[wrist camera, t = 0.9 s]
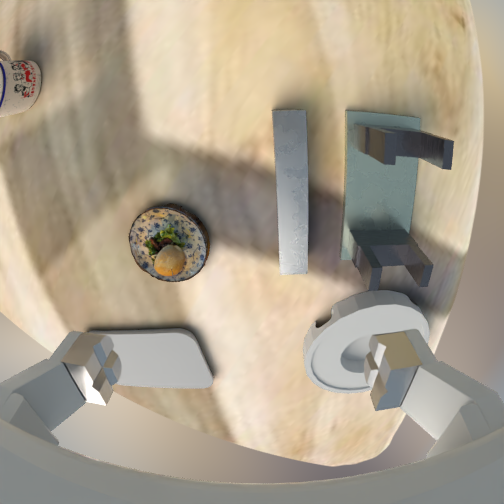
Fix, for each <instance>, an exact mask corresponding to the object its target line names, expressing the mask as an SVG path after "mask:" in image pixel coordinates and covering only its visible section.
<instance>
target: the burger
mask: <svg viewBox="0 0 504 504" xmlns="http://www.w3.org/2000/svg"><path fill="white" fill-rule="evenodd" d="M181 207H182V206H178V205H176V204H175V205H174V204H167V205H164V206H158V207H152V208H149V209H147V210H146V211H145V212H143V213H142V214H140V215H139V216H138V217H137V218H136V219H135V221H134V222H133V224H132V227H131V230H130V233H129V242H130V247H131V252H132V255H133V257H134V259H135V262H136V263H137V265H138V266H139V267H140V268H141V269H142V270H143V271H145V272H147V273H149V274H150V275H151V276H152V277H155V278H157V279H158V280H161V281H167V282H180V281H185V280H188V279H190V278H192V277H194V276H195V275H196V274H198V273H199V272H200V270H201V269H202V268H203V266H205V262H206V260H207V258H208V255H209V250H210V242H209V236H208V233H207V231H206V229H205V227H204V225H203V223H202V222H201V221H199V218H198V217H197V216H196V215H193V214H191V213H189V211H188V212H186V211H185V210H184V209H181ZM197 218H198V219H197ZM195 219H196V220H195Z"/></svg>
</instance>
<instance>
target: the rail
mask: <svg viewBox="0 0 504 504" xmlns="http://www.w3.org/2000/svg"><path fill="white" fill-rule="evenodd" d="M272 121H273V137H274V155H275V174H276V194H277V218H278V244H279V267H280V275H289V274H307V264H308V152H307V123H306V110H301V109H300V110H272Z"/></svg>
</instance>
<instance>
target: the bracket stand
mask: <svg viewBox="0 0 504 504" xmlns="http://www.w3.org/2000/svg"><path fill="white" fill-rule="evenodd" d="M453 144H454V141H452V140H449V139H446V138H443V137H440V136H437V135H433V134H431V133H427V132H424V131H421V130H420V118H416V117H409V116H401V115H392V114H383V113H372V112H358V111H345V178H344V201H343V218H342V233H341V245H340V259H341V260H351V259H352V261H353V263H354V265H355V268H356V267H357V268H358V270H359V272H360V274H361V276H362V279H363V281H364V283H365V285H366V287H367V290H368V291H378V288H379V283H380V278H381V273H382V266H397V265H405V267H406V268H407V270H408V271H409V273H410V274H411V276H412V277H413V278H414V280H415V281H416V283H417V285H418V286H419V287H427V286H428V283H429V280H430V276H431V272H432V269H433V264H432V262H431V261H430V260H429V259H428V257H427V256H426V255H425V254H424V253H423V251H422V250H421V249H420V248H419V247H418V244H417V243H416V241H415V240H414V239H413V238H412V237H411V236H410V235H409V230H410V224H411V218H412V211H413V204H414V196H415V188H416V178H417V168H418V158H421V159H423V160H425V161H427V162H429V163H431V164H434V165H436V166H437V167H439V168H441V169H448V170H451V167H452V157H453Z"/></svg>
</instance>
